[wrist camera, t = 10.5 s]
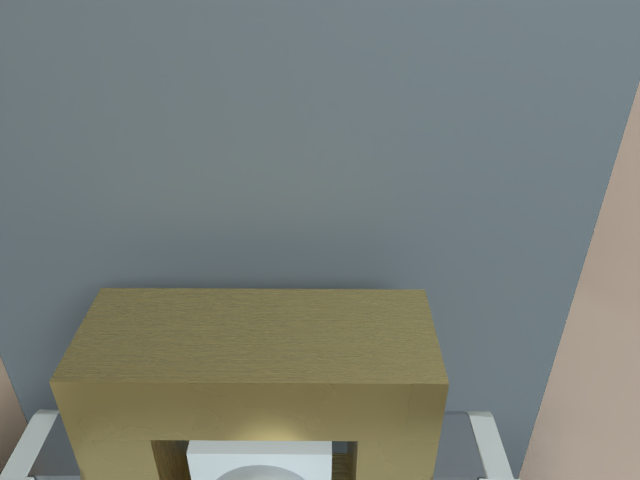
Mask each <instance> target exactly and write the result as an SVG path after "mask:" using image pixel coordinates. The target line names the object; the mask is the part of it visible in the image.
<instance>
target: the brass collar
mask: <svg viewBox="0 0 640 480" xmlns="http://www.w3.org/2000/svg"><path fill="white" fill-rule="evenodd" d="M49 383H50V386H51V389H52V392H53V395H54V398H55V400H56V403H57V406H58V409H59V412H60V415H61V418H62V420H63V423H64V426H65V429H66V432H67V435H68V438H69V440H70V443H71V446H72V449H73V452H74V455H75V458H76V460H77V463H78V466H79V469H80V472H81V473H82V476H83V479H84V480H191V475H190V470H189V465H188V460H187V449H188V445H189V441H190V440H208V441H347V453H332V476H331V480H432V477H433V473H434V468H435V462H436V456H437V451H438V445H439V439H440V433H441V428H442V422H443V416H444V411H445V405H446V399H447V394H448V388H449V381H448V377H447V373H446V369H445V366H444V362H443V358H442V354H441V350H440V346H439V342H438V338H437V334H436V330H435V327H434V323H433V319H432V315H431V311H430V307H429V303H428V299H427V295H426V291H425V289H226V288H101V289H100V290H99V292H98V294H97V296H96V298H95V299H94V301H93V303H92V305H91V307H90V309H89V310H88V312H87V314H86V316H85V318H84V319H83V321H82V323H81V325H80V327H79V329H78V330H77V332H76V334H75V336H74V338H73V339H72V341H71V343H70V345H69V347H68V349H67V350H66V352H65V354H64V356H63V358H62V359H61V361H60V363H59V365H58V367H57V368H56V370H55V372H54V374H53V376H52V378H51V379H50V381H49Z"/></svg>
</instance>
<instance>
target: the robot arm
mask: <svg viewBox="0 0 640 480" xmlns="http://www.w3.org/2000/svg"><path fill="white" fill-rule="evenodd" d="M0 480H84V479H83V476H82V473H81V472H80V469H79V466H78V463H77V460H76V458H75V455H74V452H73V449H72V446H71V443H70V440H69V438H68V435H67V432H66V429H65V426H64V423H63V420H62V418H61V415H60V412H59V410H52V409H39V410H38V411H37V412H36V413H35V414H34V415H33V416H32V418H31V420H30V421H29V423H28V425H27V427H26V429H25V431H24V432H23V434H22V436H21V438H20V440H19V441H18V443H17V445H16V447H15V449H14V451H13V452H12V454H11V456H10V458H9V460H8V461H7V463H6V465H5V467H4V469H3V471H2V472H1V474H0ZM432 480H522V479H514V478H513V475H512V472H511V468H510V465H509V462H508V459H507V456H506V453H505V450H504V447H503V444H502V441H501V438H500V435H499V432H498V429H497V426H496V423H495V420H494V417H493V415H492V414H491V413H490V411H466V412H465V411H444V416H443V422H442V428H441V433H440V439H439V445H438V451H437V456H436V462H435V468H434V473H433V477H432Z"/></svg>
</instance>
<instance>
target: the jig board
mask: <svg viewBox="0 0 640 480" xmlns="http://www.w3.org/2000/svg"><path fill="white" fill-rule="evenodd" d="M639 81H640V0H0V356H1V358H2V361H3V363H4V366H5V368H6V371H7V373H8V376H9V378H10V381H11V383H12V386H13V388H14V391H15V393H16V396H17V398H18V401H19V403H20V406H21V408H22V411H23V413H24V416H25V418H26V421H27V423H29V421H30V420H31V418H32V416H33V415H34V414H35V413H36V412H37V411H38V410H39V409H52V410H59V409H58V406H57V403H56V400H55V398H54V395H53V392H52V389H51V386H50V383H49V381H50V379H51V378H52V376H53V374H54V372H55V370H56V368H57V367H58V365H59V363H60V361H61V359H62V358H63V356H64V354H65V352H66V350H67V349H68V347H69V345H70V343H71V341H72V339H73V338H74V336H75V334H76V332H77V330H78V329H79V327H80V325H81V323H82V321H83V319H84V318H85V316H86V314H87V312H88V310H89V309H90V307H91V305H92V303H93V301H94V299H95V298H96V296H97V294H98V292H99V290H100V289H101V288H226V289H425V291H426V295H427V299H428V303H429V307H430V311H431V315H432V319H433V323H434V327H435V330H436V334H437V338H438V342H439V346H440V350H441V354H442V358H443V362H444V366H445V369H446V373H447V377H448V381H449V388H448V394H447V399H446V405H445V411H465V412H466V411H490V413H491V414H492V415H493V417H494V420H495V423H496V426H497V429H498V432H499V435H500V438H501V441H502V444H503V447H504V450H505V453H506V456H507V459H508V462H509V465H510V468H511V472H512V475H513V478H514V479H518V477H519V473H520V470H521V467H522V464H523V460H524V457H525V454H526V451H527V447H528V444H529V441H530V437H531V434H532V431H533V428H534V424H535V421H536V418H537V415H538V411H539V408H540V405H541V401H542V398H543V395H544V392H545V388H546V385H547V382H548V379H549V375H550V372H551V369H552V366H553V362H554V359H555V356H556V352H557V349H558V346H559V343H560V339H561V336H562V333H563V330H564V326H565V323H566V320H567V317H568V313H569V310H570V307H571V303H572V300H573V297H574V294H575V290H576V287H577V284H578V281H579V277H580V274H581V271H582V267H583V264H584V261H585V258H586V254H587V251H588V248H589V245H590V241H591V238H592V235H593V232H594V228H595V225H596V222H597V218H598V215H599V212H600V209H601V205H602V202H603V199H604V196H605V192H606V189H607V186H608V182H609V179H610V176H611V173H612V169H613V166H614V163H615V160H616V156H617V153H618V150H619V147H620V143H621V140H622V137H623V133H624V130H625V127H626V124H627V120H628V117H629V114H630V111H631V107H632V104H633V101H634V97H635V94H636V91H637V88H638V84H639ZM332 453H347V441H208V440H190V441H189V445H188V449H187V460H188V465H189V470H190V475H191V480H331V476H332Z"/></svg>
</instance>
